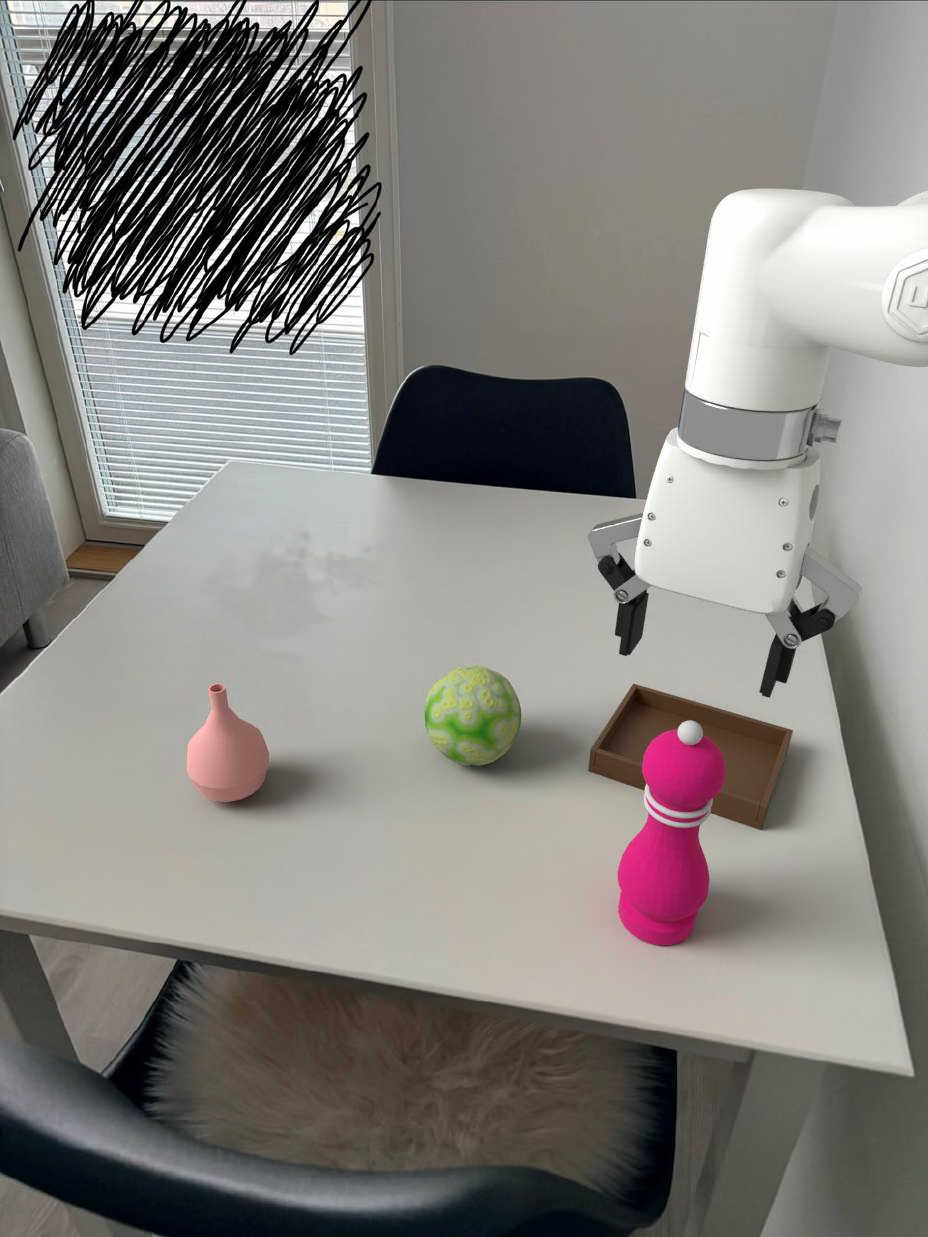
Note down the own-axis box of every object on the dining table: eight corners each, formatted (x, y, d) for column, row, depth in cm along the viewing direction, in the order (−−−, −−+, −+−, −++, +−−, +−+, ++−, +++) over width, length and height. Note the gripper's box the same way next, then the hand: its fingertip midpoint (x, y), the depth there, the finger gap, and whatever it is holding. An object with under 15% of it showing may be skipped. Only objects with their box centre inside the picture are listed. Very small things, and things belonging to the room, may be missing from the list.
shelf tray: (787, 751, 92) (793, 730, 90) (761, 830, 81) (766, 807, 80) (630, 703, 98) (633, 683, 97) (587, 771, 88) (590, 749, 87)
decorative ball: (405, 747, 91) (403, 667, 86) (481, 714, 96) (483, 637, 91) (461, 800, 84) (463, 717, 79) (540, 761, 89) (546, 681, 84)
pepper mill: (701, 891, 75) (743, 702, 65) (699, 960, 69) (745, 763, 59) (616, 875, 76) (644, 687, 66) (607, 941, 70) (636, 745, 60)
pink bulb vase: (195, 767, 88) (177, 668, 82) (272, 759, 89) (261, 661, 83) (188, 821, 81) (168, 717, 75) (271, 812, 83) (258, 709, 76)
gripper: (909, 432, 51) (837, 675, 60) (625, 385, 58) (598, 610, 66) (897, 472, 45) (819, 734, 54) (583, 415, 52) (559, 657, 61)
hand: (697, 665), depth 60 cm, fingers open, 9 cm apart
